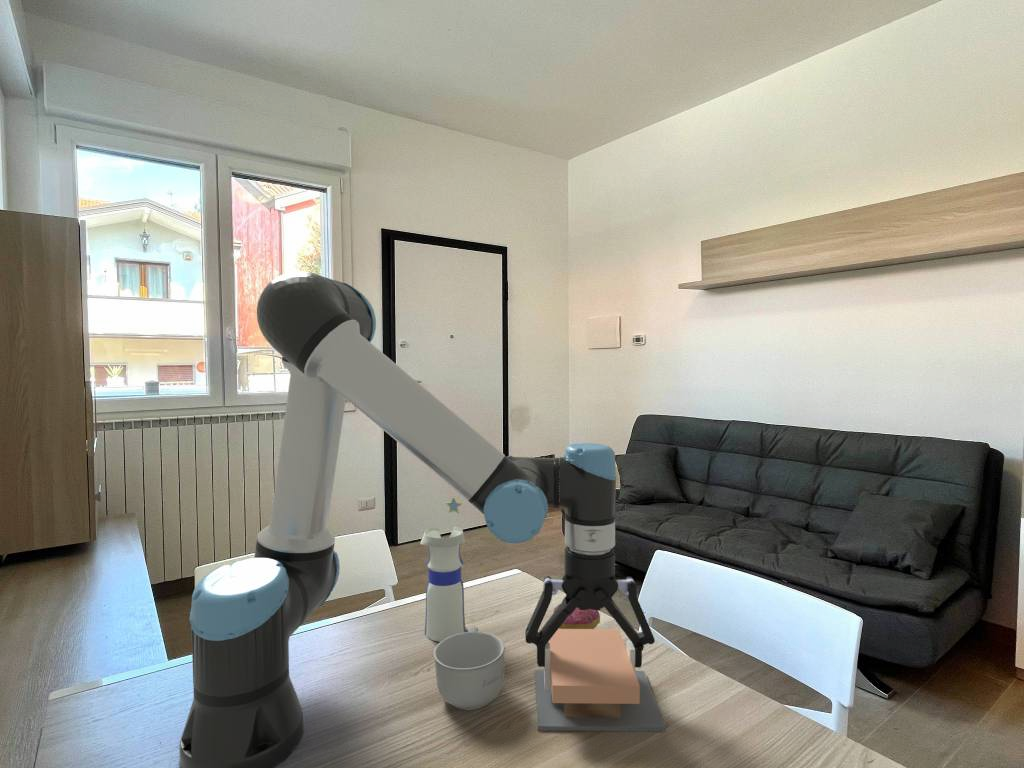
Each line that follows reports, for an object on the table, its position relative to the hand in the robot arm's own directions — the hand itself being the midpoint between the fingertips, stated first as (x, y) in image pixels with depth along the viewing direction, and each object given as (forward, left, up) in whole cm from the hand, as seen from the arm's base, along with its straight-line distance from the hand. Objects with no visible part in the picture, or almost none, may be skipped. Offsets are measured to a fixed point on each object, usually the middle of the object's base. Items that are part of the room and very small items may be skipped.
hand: (588, 686), depth 85 cm
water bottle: (-25, +21, -2) cm, 33 cm away
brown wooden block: (0, 0, -2) cm, 2 cm away
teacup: (-18, +2, -2) cm, 18 cm away
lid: (0, 0, +2) cm, 2 cm away
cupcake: (0, +18, -2) cm, 18 cm away
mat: (+1, 0, -2) cm, 2 cm away
